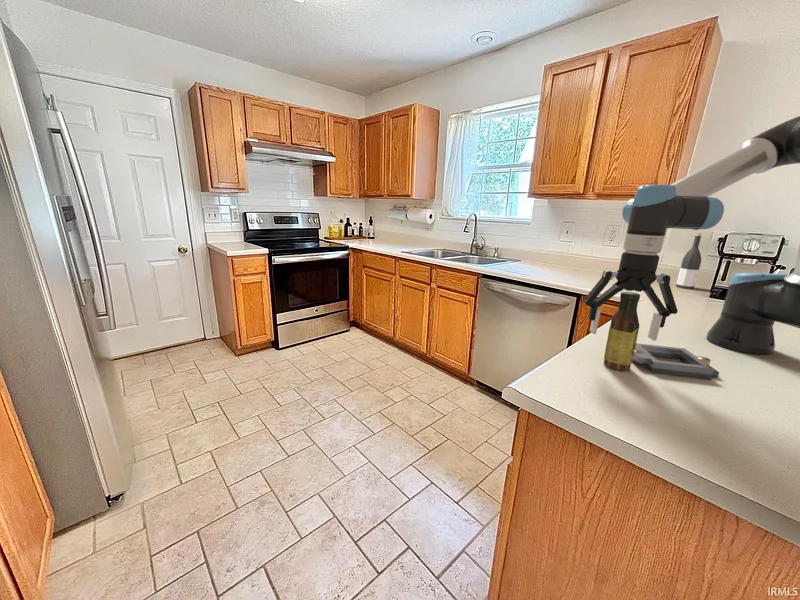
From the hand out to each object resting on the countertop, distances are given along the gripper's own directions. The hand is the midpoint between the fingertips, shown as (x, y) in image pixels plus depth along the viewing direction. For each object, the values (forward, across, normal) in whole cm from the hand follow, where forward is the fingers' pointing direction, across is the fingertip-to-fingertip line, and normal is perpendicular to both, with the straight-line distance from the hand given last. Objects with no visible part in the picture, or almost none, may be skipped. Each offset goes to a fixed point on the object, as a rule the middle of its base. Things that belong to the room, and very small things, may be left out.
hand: (621, 335), depth 86 cm
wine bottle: (+8, +75, +124) cm, 145 cm away
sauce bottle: (+9, 0, 0) cm, 9 cm away
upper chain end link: (+9, +13, +5) cm, 16 cm away
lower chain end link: (+8, +16, +5) cm, 18 cm away
